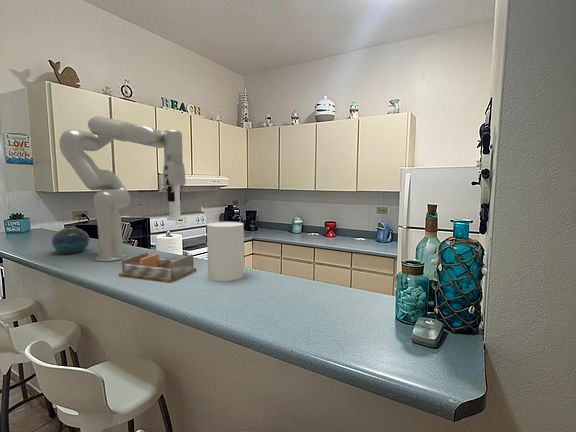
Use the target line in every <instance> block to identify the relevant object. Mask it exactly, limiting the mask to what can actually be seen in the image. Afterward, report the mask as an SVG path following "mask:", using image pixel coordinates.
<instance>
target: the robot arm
mask: <svg viewBox="0 0 576 432" xmlns="http://www.w3.org/2000/svg"><path fill="white" fill-rule="evenodd" d="M87 127H88V129H89V131H90V132H89V131H85V130H80V129H68V130H65V131H64V132H63V133H62V134H61V135H60V138H59V150H60V151H61V152H60V153H61V154H62V156H63V157H64V158H65V160H66V161H67V163H68V164H69V165H70V166H71V167H72V169H73V170H74V172H75V173H76V175H77V176H78V178H79V179H80V180H81V182H82V183H83V185H84V186H85V187H86V188H87V189H88V190H90V191H97V192H96V193H95V194H94V196H93V205H94V209H95V214H96V221H97V224H96V225H97V240H98V241H97V242H98V247H97V248H96V249H94V251H93V253H94V254H97V256H95V261H97V262H115V261H116V262H117V261H122V259H125V258H128V257H127V256H128V254H127V253H125V252H124V249H123V248H124V246H123V230H122V228H123V227H122V217H121V214H120V211H119V210H121V209H125V208H127V207H128V206H129V205H130V203H131V195H130V193H129V191H128V189H126V187H125V186H124V184H123V183H122V181H121V180H120V178H119V177H118V176H117V175H116V174H115V173H114V172H113V171H111V170H109V169H101V168H100V167H98V165H97V164H96V163H95V162H94V159H92V157H91V156H90V155H88V154H87V153H86V151H87V152H97V151H99V150H100V149H102V148H104V147H106V146H107V145H108V144H111V142H113V141H114V140H115V141H120V142H125V143H126V142H129V143H134V144H139V145H142V146H147V147H153V148H157V149H163V159H164V160H163V161H164V162H163V169H162V181H163V183H162V187H163V188H164V189H165V190H166V193H167V202H168V203H169V202H174V201H175V192H174V185H179V187H180V202H181V201H182V189H183V188H184V187H185V185H186V182H187V181H186V170H185V164H184V161H183V160H184V159H183V134H182V131H180V130H177V129H166V130H164V131H163V130H160V129H159V130H158V129H155V128H153V127H149V126H144V125H140V124H134V123H130V122H128V121H123V120H119V119H114V118H110V117H105V116H100V115H99V116H93V117H91V118H90V119H89V120H88V122H87ZM169 184H172V185H169ZM170 187H171V188H170ZM123 252H124V253H123Z"/></svg>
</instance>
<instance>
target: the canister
mask: <svg viewBox="0 0 576 432" xmlns="http://www.w3.org/2000/svg"><path fill="white" fill-rule="evenodd" d="M244 225H245V224H244V223H243V222H239V221H217V222H216V221H214V222H209V223H207V224H206V238H207V239H206V242H207V243H206V244H207V245H206V248H207V249H206V251H207V278H208V279H209V280H212V281H214V282H215V281H216V282H231V281H233V282H234V281H235V280H240V279H242V278H244V276H245V258H244V257H245V252H244V251H245V249H244V248H245V246H244V244H245V240H244V236H245V235H244V234H245V231H244V230H245V229H244Z"/></svg>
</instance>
